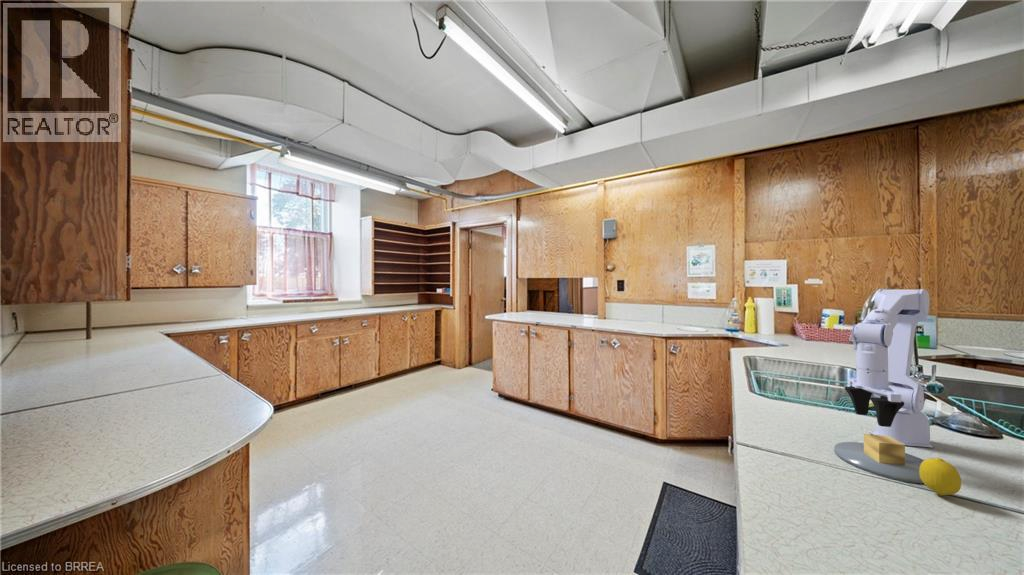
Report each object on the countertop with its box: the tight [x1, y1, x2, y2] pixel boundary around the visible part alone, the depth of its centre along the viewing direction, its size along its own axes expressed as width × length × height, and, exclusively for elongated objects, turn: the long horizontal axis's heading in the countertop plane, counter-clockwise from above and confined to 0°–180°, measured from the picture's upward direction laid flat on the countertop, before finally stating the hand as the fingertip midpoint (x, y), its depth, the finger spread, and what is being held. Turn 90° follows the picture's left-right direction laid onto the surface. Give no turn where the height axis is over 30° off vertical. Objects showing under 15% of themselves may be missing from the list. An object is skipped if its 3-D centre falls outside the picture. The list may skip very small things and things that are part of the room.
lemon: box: [919, 457, 962, 497], centre depth 70 cm, size 6×6×8 cm
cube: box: [863, 433, 906, 465], centre depth 83 cm, size 5×5×5 cm
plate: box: [833, 441, 925, 484], centre depth 83 cm, size 18×18×1 cm
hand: (872, 420), depth 87 cm, fingers open, 7 cm apart
